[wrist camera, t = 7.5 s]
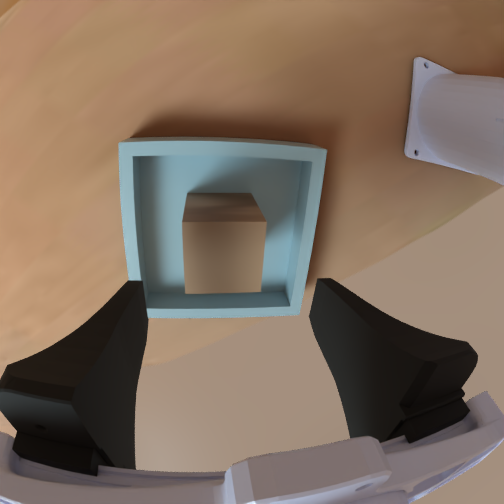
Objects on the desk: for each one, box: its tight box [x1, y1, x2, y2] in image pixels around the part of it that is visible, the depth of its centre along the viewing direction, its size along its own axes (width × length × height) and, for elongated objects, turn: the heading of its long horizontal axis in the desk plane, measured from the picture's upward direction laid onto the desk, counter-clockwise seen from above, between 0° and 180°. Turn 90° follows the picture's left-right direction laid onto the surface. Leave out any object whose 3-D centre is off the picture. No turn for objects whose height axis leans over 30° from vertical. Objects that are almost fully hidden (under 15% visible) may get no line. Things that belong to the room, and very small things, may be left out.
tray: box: [119, 137, 327, 318], centre depth 19 cm, size 12×12×2 cm
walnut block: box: [182, 193, 267, 294], centre depth 17 cm, size 4×4×5 cm
